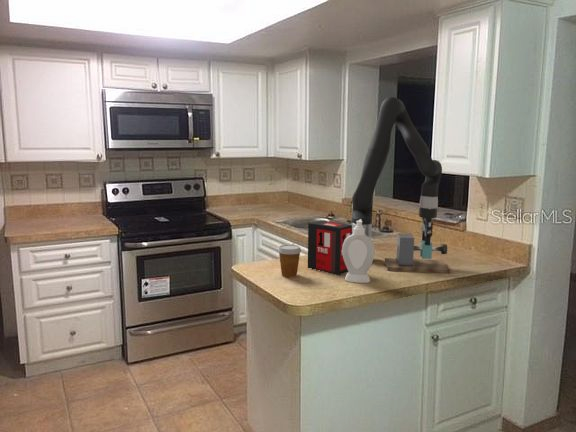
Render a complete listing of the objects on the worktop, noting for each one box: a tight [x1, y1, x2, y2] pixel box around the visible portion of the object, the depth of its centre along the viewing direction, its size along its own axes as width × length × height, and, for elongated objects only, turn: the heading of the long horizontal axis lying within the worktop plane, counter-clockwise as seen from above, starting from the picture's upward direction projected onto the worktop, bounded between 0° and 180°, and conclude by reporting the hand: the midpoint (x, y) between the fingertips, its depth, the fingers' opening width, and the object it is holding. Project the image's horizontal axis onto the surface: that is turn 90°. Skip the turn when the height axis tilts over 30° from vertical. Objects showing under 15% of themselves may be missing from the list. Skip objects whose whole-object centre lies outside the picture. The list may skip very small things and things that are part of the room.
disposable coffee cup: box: [277, 244, 302, 278], centre depth 197 cm, size 10×10×12 cm
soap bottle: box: [342, 219, 376, 284], centre depth 190 cm, size 13×8×24 cm, turn 74°
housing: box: [396, 232, 415, 266], centre depth 212 cm, size 6×10×12 cm, turn 173°
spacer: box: [419, 240, 433, 260], centre depth 211 cm, size 4×6×7 cm
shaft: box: [414, 243, 448, 255], centre depth 211 cm, size 16×4×4 cm, turn 83°
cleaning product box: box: [307, 220, 352, 276], centre depth 206 cm, size 16×9×20 cm, turn 50°
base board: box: [384, 257, 451, 274], centre depth 212 cm, size 26×16×2 cm, turn 83°
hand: (425, 243), depth 210 cm, fingers open, 8 cm apart
